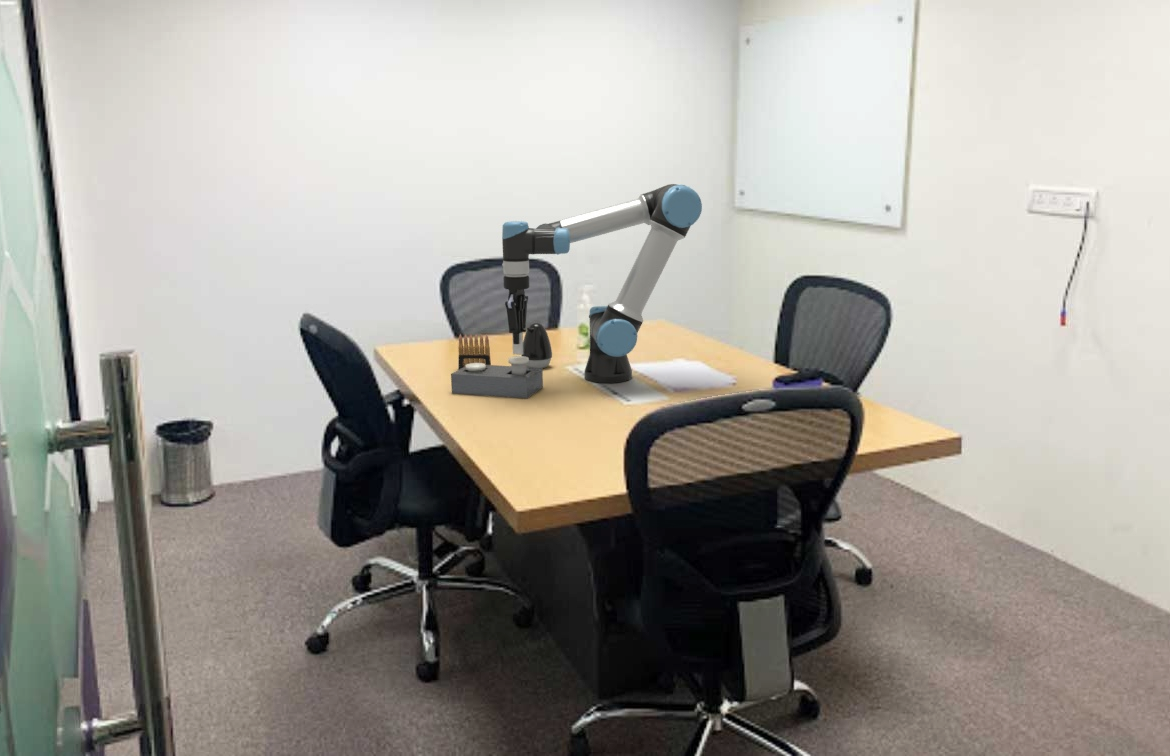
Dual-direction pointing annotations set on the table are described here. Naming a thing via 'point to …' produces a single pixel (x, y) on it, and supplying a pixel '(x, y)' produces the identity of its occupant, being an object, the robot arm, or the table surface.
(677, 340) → the table surface
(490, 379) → the housing
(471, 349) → the ammunition clip
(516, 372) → the knob near
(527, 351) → the pump dispenser
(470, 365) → the knob far
